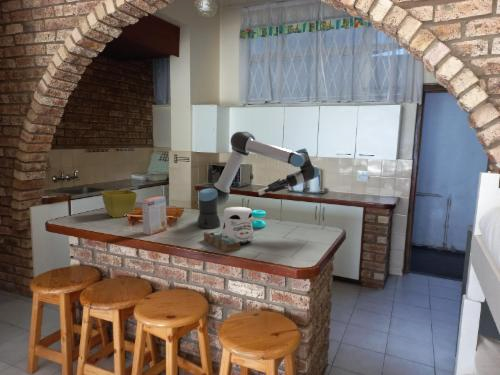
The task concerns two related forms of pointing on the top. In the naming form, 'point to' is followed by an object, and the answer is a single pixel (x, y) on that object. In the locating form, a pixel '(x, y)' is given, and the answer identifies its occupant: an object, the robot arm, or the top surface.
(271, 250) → the top surface
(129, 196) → the flower pot
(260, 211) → the donuts
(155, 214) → the cracker box
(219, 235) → the block
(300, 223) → the top surface
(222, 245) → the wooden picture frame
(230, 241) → the block
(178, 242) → the top surface
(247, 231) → the milk container
